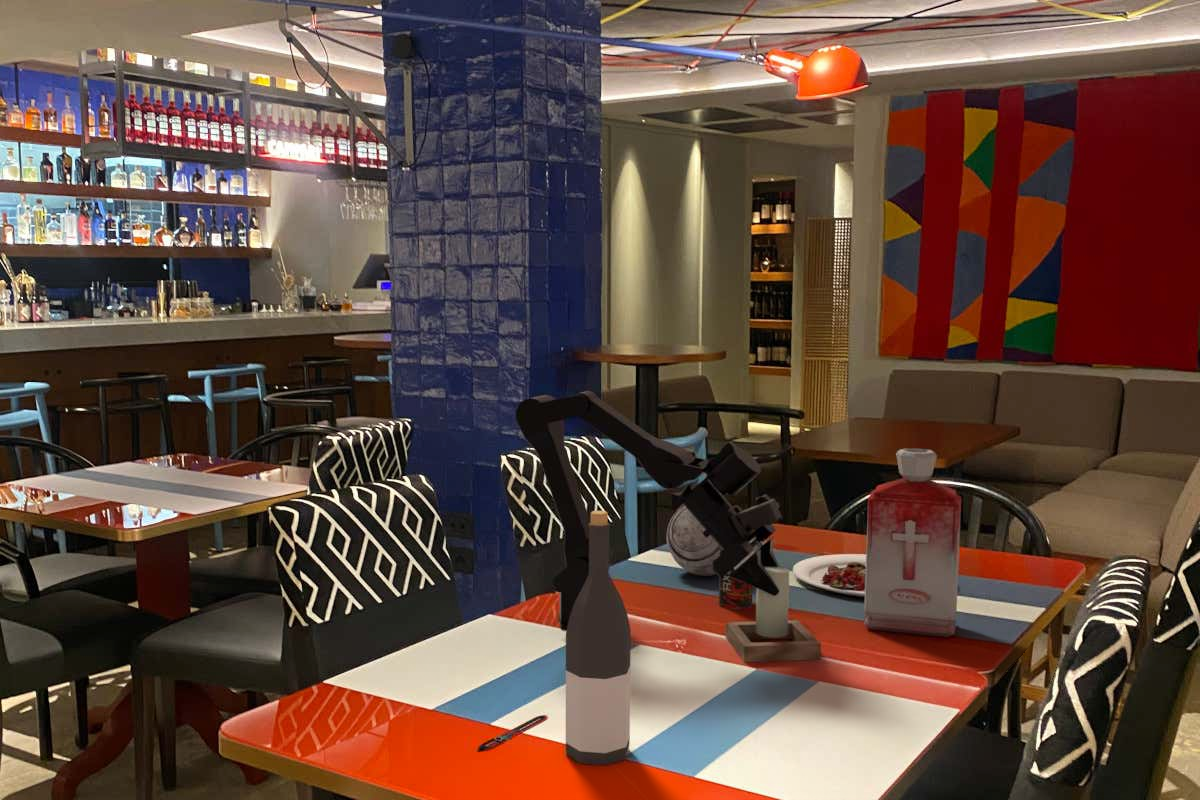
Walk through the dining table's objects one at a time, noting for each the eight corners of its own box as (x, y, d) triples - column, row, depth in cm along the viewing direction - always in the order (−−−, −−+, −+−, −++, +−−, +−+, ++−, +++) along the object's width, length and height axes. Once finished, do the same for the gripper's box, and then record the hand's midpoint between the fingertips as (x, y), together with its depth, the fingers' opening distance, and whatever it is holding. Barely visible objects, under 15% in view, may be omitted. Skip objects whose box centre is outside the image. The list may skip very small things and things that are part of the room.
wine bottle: (608, 771, 134) (610, 522, 131) (552, 755, 138) (552, 514, 135) (642, 747, 141) (645, 510, 138) (587, 733, 145) (588, 502, 142)
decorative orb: (654, 576, 221) (655, 501, 220) (688, 561, 233) (689, 489, 232) (723, 588, 213) (724, 509, 212) (754, 571, 226) (756, 497, 224)
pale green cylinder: (772, 639, 175) (773, 576, 174) (749, 631, 179) (750, 569, 178) (794, 633, 178) (796, 571, 177) (771, 625, 182) (772, 564, 181)
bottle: (956, 623, 193) (963, 448, 189) (954, 641, 183) (961, 457, 180) (869, 614, 197) (874, 443, 194) (862, 631, 188) (868, 452, 184)
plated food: (970, 576, 224) (971, 560, 224) (925, 614, 199) (926, 595, 198) (826, 556, 240) (826, 540, 240) (767, 588, 215) (767, 570, 214)
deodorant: (714, 607, 201) (716, 524, 200) (723, 598, 207) (725, 517, 205) (747, 611, 199) (749, 527, 197) (755, 602, 204) (757, 520, 203)
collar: (744, 662, 172) (744, 646, 172) (725, 637, 184) (726, 622, 184) (820, 659, 174) (820, 643, 174) (797, 634, 186) (798, 620, 186)
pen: (552, 719, 151) (552, 714, 151) (484, 755, 139) (484, 750, 139) (540, 715, 152) (540, 711, 152) (471, 751, 140) (471, 746, 140)
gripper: (734, 491, 169) (806, 572, 166) (765, 472, 186) (830, 544, 183) (683, 538, 173) (752, 617, 170) (717, 514, 190) (780, 586, 187)
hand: (781, 589), depth 178 cm, fingers closed on pale green cylinder, 5 cm apart
